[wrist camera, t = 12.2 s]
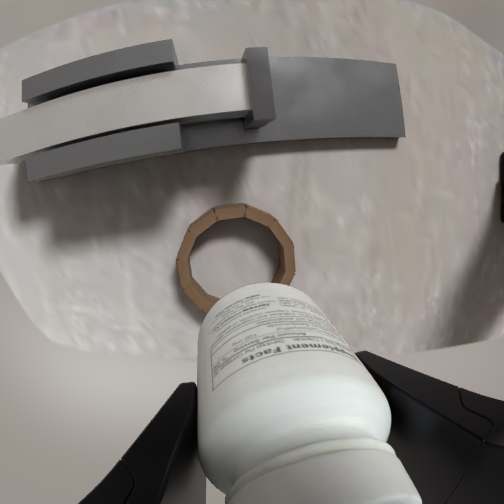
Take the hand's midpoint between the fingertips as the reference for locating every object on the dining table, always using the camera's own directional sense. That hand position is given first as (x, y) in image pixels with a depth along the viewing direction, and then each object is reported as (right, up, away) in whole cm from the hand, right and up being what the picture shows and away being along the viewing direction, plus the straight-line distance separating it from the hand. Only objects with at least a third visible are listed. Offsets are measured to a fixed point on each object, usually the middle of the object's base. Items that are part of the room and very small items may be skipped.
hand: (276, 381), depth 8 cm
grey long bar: (-8, +11, +7) cm, 15 cm away
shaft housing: (-3, +12, +9) cm, 15 cm away
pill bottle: (0, +1, +3) cm, 3 cm away
